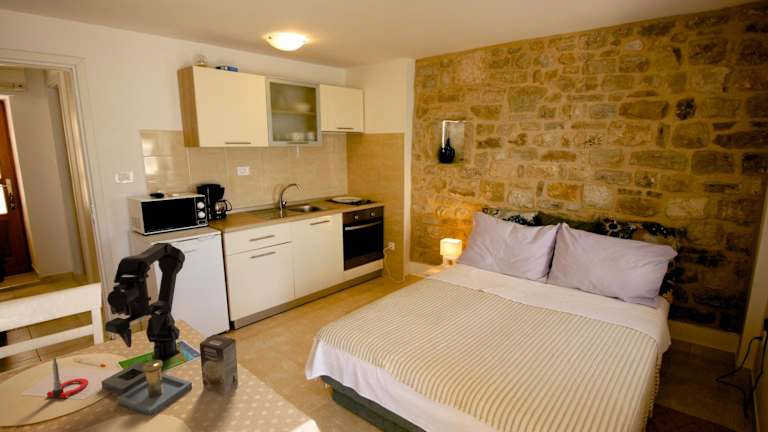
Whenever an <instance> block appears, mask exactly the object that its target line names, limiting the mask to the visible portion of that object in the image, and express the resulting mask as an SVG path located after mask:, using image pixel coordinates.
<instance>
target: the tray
mask: <svg viewBox="0 0 768 432" xmlns="http://www.w3.org/2000/svg"><path fill="white" fill-rule="evenodd" d="M161 374H162V383H163V394H162V395H160V396H158V397H155V398H150V397H149V396H148V389H147V381H145V382H144V383H142V384H140V385H139V386H137V387H135V388H134V389H132V390H130V391H129V392H127V393H125V394H124V395H122V396H121V395H119V397H117V398H116V399H117V404H118V405H120V406H121V407H125V408H128V409H130V410H133V411H135V412H138V413H140V414H143V415H145V414H147V415H146V416H148V415H150V416H149V417H151V416H152V415H153V416H155V415H156V414H157V413H159V412H161V411H162V410H164V409H165V408H166V407H168V406H169V405H170V404H172V403H173V402H174V401H177V400H178V399H179V398H180V397H182V396H184V395H185V394H186V393H188V392H189V391H190V390H192V389H193V385H192V384H193V383H192V381H188V380H184V379H182V378H178V377H175V376H173V375H168V374H166V373H162V372H161ZM154 414H155V415H154ZM153 416H152V417H153Z"/></svg>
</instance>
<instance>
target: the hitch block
mask: <svg viewBox="0 0 768 432" xmlns="http://www.w3.org/2000/svg"><path fill="white" fill-rule="evenodd" d="M144 364H145V363H143V362H140V361H136V362H134V363H133V364H131V365H129V366H127V367H126V368H124V369H122V370H120V371H118V372H116V373H115V374H113V375H111V376H109V377H107V378H105V379H103V380H101V389H102V390H105V391H108V392H111V393H113V394H116V395H118V396H122V395H124V394H125V393H127V392H129V391H130V390H132V389H134V388H135V387H137V386H139V385H140V384H142V383H144V382H145V381H147V380H146V372H145V371H143V365H144ZM131 376H132V377H133V376H135V377H133V378H132V379H131ZM129 378H130V380H128V379H129Z"/></svg>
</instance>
